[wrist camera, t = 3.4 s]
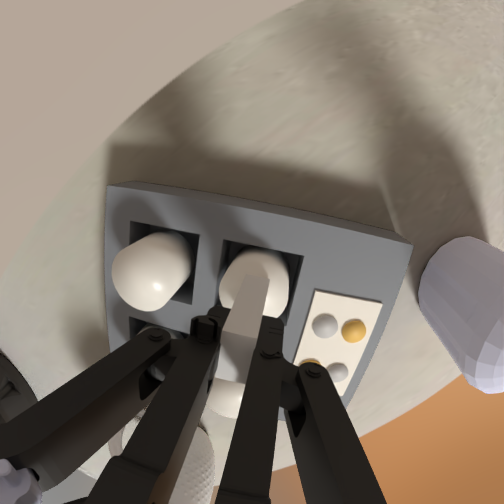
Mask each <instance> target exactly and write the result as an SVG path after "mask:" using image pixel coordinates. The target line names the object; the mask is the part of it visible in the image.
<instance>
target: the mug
mask: <svg viewBox="0 0 504 504" xmlns="http://www.w3.org/2000/svg"><path fill="white" fill-rule="evenodd" d="M144 413H145V410H143V409H142V410H141V411H140V412H139V413H138V414H137V415H136V416H139V417H141V418H142V417H143V415H144ZM124 428H125V426H124V427H123V428H122V429H121V430H120V431H119V432H118V433H116V434H115V435H114V436H113V437H112V438H111V439H110V440H109V441H108V446H109V451H110V454H111V456H112V457H113V456H119V455H120V454H121V453H122V452H123V449H122V434H123V431H124ZM214 476H215V456H214V450H213V447H212V444H211V441H210V439H209V437H208V435H207V434H206V433H205V432H204V430H202V429H201V428H200V427H199V426H197V429H196V431H195V434H194V437H193V439H192V442H191V445H190V447H189V450H188V453H187V455H186V458H185V461H184V463H183V466H182V469H181V471H180V474H179V477H178V479H177V482H176V484H175V487H174V490H173V492H172V495H171V498H170V500H169V504H209V503H210V500H211V495H212V491H213V485H214V481H215V480H214V478H215V477H214Z"/></svg>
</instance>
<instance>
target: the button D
mask: <svg viewBox="0 0 504 504" xmlns="http://www.w3.org/2000/svg"><path fill="white" fill-rule="evenodd" d="M246 274H249V275H254V276H258V277H263V278H268V279H270V282H269V287H268V292H267V296H266V301H265V306H264V311H263V315H265V316H270V317H275V318H277V317H279V316H280V315H281V314H282V312H283V311H284V309H285V307H286V305H287V302H288V291H289V264H288V261H287V258H286V257H285V255H284V254H283V253H282V252H281V251H279V250H274V249H269V248H264V247H259V246H254V245H247V246H245V247H243V248H242V249H241V250H240V251H239V252H238V253H237V255H236V256H235V258H234V260H233V261H232V263H231V264H230V266H229V268H228V269H227V271H226V273H225V274H224V276H223V278H222V280H221V282H220V286H219V297H220V301H221V304H222V306H223V307H226V308H230V309H231V308H232V306H233V303H234V301H235V299H236V297H237V294H238V292H239V289H240V287H241V285H242V282H243V280H244V278H245V275H246Z"/></svg>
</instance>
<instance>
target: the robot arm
mask: <svg viewBox="0 0 504 504" xmlns="http://www.w3.org/2000/svg"><path fill="white" fill-rule="evenodd" d="M269 282H270V279H268V278H263V277H258V276H254V275H249V274H246V275H245V278H244V280H243V282H242V285H241V287H240V289H239V292H238V294H237V297H236V299H235V301H234V303H233V306H232V308H231V309H230V308H226V307H222V306H217V305H215V306H214V307H212V308H210V309H209V311H208V312H207V315H199V316H196V317H193V318H192V319H191V325H190V336H189V337H188V338H186V339H173V338H171V335H170V333H169V332H168V331H166V330H165V329H162V328H155V327H153V328H148V329H146V330H144V331H142V332H141V333H139V334H138V335H136V336H135V337H133V338H132V339H130V340H129V341H128V342H126V343H125V344H123V345H122V346H120V347H119V348H117V349H116V350H114V351H113V352H111V353H110V354H108V355H107V356H105V357H104V358H102V359H101V360H99V361H98V362H96V363H95V364H94V365H92V366H91V367H89V368H88V369H86V370H85V371H83V372H82V373H80V374H79V375H77V376H76V377H74V378H73V379H71V380H70V381H68V382H67V383H65V384H64V385H62V386H61V387H59V388H58V389H56V390H55V391H53V392H52V393H50V394H49V395H47V396H46V397H44V398H43V399H41V400H40V401H39V402H38V401H37V399H36V397H35V395H34V393H33V392H32V390H31V389H30V387H29V385H28V384H27V383H26V381H25V380H24V378H23V377H22V376H21V375H20V373H19V372H18V371H17V370H16V368H15V367H14V366H13V365H12V364H11V363H10V362H9V361H8V360H7V359H6V358H5V357H4V356H2V355H1V354H0V504H41V503H42V500H41V499H42V492H45V491H47V490H49V489H51V488H53V487H55V486H56V485H58V484H59V483H61V482H62V481H63V480H64V479H66V478H67V477H68V476H69V475H71V474H72V473H73V472H74V471H75V470H76V469H77V468H79V467H80V466H81V465H82V464H83V463H84V462H85V461H87V460H88V459H89V458H90V457H91V456H92V455H93V454H94V453H96V452H97V451H98V450H99V449H100V448H101V447H102V446H103V445H104V444H106V443H107V442H108V441H109V440H110V439H111V438H112V437H113V436H114V435H115V434H116V433H118V432H119V431H120V430H121V429H122V428H123V427H124V426H125V425H126V424H127V423H128V422H129V421H131V420H132V419H133V418H134V417H135V416H136V415H137V414H138V413H139V412H140V411H141V410H142V409H143V408H144V407H145V406H147V405H148V404H149V403H150V402H151V403H150V404H149V406H148V408H147V410H146V411H145V413H144V415H143V417H142V418H141V420H140V422H139V424H138V425H137V427H136V429H135V431H134V432H133V434H132V436H131V438H130V439H129V441H128V443H127V445H126V446H125V448H124V450H123V452H122V453H121V454H120V455H119V456H113V457H112V458H111V459H110V460H109V461H108V463H107V465H106V466H105V468H104V470H103V471H102V473H101V475H100V477H99V478H98V480H97V482H96V483H95V485H94V487H93V489H92V491H91V492H90V494H89V496H88V497H84V498H80V499H77V500H74V501H70V502H67V503H64V504H169V500H170V498H171V495H172V492H173V490H174V487H175V484H176V482H177V479H178V477H179V474H180V471H181V469H182V466H183V463H184V461H185V458H186V455H187V453H188V450H189V447H190V445H191V442H192V439H193V437H194V434H195V431H196V429H197V426H198V423H199V421H200V418H201V415H202V413H203V410H204V407H205V405H206V402H207V399H208V396H209V394H210V391H211V388H212V386H213V380H214V375H215V373H216V375H215V377H216V378H220V379H224V380H228V381H232V382H237V383H241V384H245V389H244V393H243V397H242V401H241V405H240V409H239V413H238V417H237V421H236V425H235V429H234V433H233V437H232V441H231V445H230V448H229V452H228V456H227V460H226V464H225V468H224V471H223V475H222V479H221V483H220V486H219V490H218V493H217V497H216V500H215V504H271V499H270V498H269V489H270V482H271V474H272V466H273V458H274V450H275V441H276V432H277V423H278V414H279V407H281V408H284V416H285V420H286V424H287V428H288V432H289V436H290V440H291V444H292V448H293V452H294V456H295V460H296V464H297V468H298V472H299V476H300V479H301V484H302V488H303V492H304V496H305V500H306V503H307V504H387V503H386V500H385V498H384V496H383V493H382V491H381V489H380V486H379V484H378V482H377V480H376V477H375V475H374V472H373V470H372V468H371V466H370V463H369V461H368V459H367V456H366V454H365V452H364V450H363V447H362V445H361V443H360V441H359V438H358V436H357V434H356V432H355V429H354V427H353V425H352V423H351V421H350V418H349V416H348V414H347V412H346V409H345V407H344V405H343V403H342V401H341V398H340V396H339V394H338V392H337V390H336V388H335V385H334V383H333V381H332V379H331V377H330V374H329V372H328V371H327V369H326V368H325V367H323V366H322V365H320V364H318V363H314V362H305V363H303V364H301V365H300V366H296V365H294V364H292V363H290V362H288V361H287V360H286V359H285V358H284V355H283V353H282V349H283V335H284V323H283V321H282V320H281V319H280V318H275V317H270V316H265V315H263V311H264V306H265V301H266V296H267V292H268V287H269Z"/></svg>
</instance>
